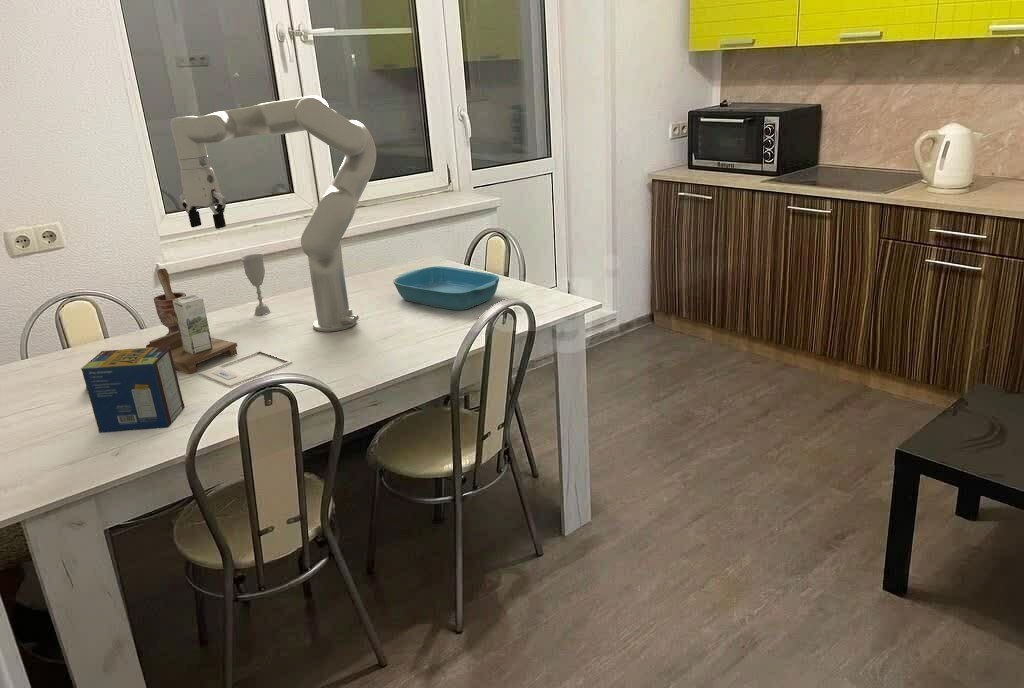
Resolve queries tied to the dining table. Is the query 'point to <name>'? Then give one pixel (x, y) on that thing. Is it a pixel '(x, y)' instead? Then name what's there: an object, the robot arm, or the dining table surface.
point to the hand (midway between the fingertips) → (208, 227)
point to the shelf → (187, 360)
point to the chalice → (256, 277)
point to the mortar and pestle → (167, 303)
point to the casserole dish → (446, 287)
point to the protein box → (133, 389)
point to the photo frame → (231, 377)
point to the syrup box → (192, 324)
